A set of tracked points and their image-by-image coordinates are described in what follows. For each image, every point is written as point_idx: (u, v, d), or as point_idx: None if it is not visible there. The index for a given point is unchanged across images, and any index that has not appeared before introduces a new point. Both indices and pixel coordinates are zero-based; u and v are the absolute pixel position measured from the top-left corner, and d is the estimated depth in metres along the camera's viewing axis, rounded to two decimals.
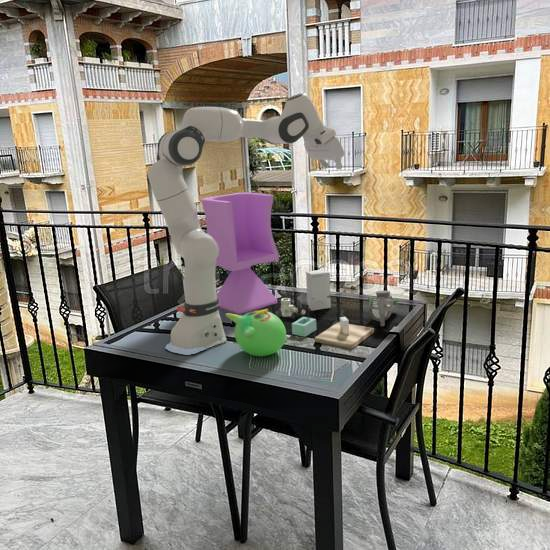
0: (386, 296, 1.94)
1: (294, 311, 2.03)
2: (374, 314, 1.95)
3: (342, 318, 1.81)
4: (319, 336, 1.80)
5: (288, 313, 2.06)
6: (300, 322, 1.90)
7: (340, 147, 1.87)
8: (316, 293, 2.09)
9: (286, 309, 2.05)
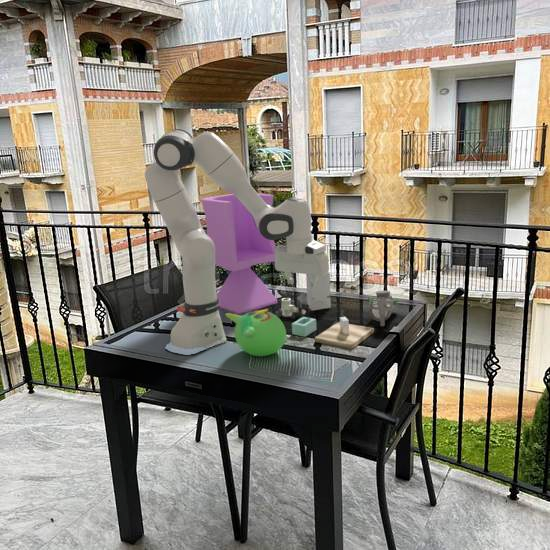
0: (386, 296, 1.94)
1: (294, 311, 2.03)
2: (374, 314, 1.95)
3: (342, 318, 1.81)
4: (319, 336, 1.80)
5: (289, 313, 2.06)
6: (300, 322, 1.90)
7: (327, 264, 1.78)
8: (316, 293, 2.09)
9: (286, 309, 2.05)
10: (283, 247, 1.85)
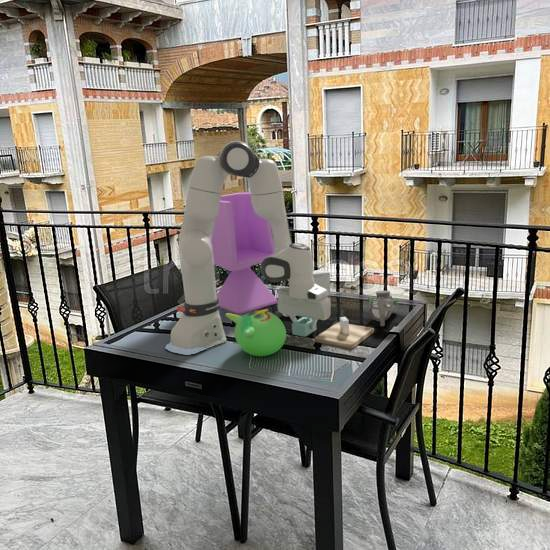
0: (386, 296, 1.94)
1: None
2: (374, 314, 1.95)
3: (342, 318, 1.81)
4: (319, 336, 1.80)
5: None
6: (300, 322, 1.90)
7: (329, 308, 1.82)
8: None
9: None
10: (286, 290, 1.89)
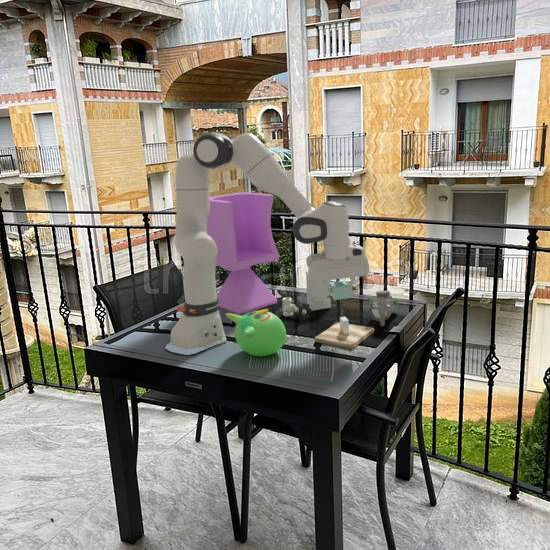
0: (386, 296, 1.94)
1: (295, 310, 2.03)
2: (374, 314, 1.95)
3: (342, 318, 1.81)
4: (319, 336, 1.80)
5: (290, 312, 2.07)
6: None
7: None
8: (316, 293, 2.09)
9: (287, 308, 2.06)
10: (317, 256, 1.75)
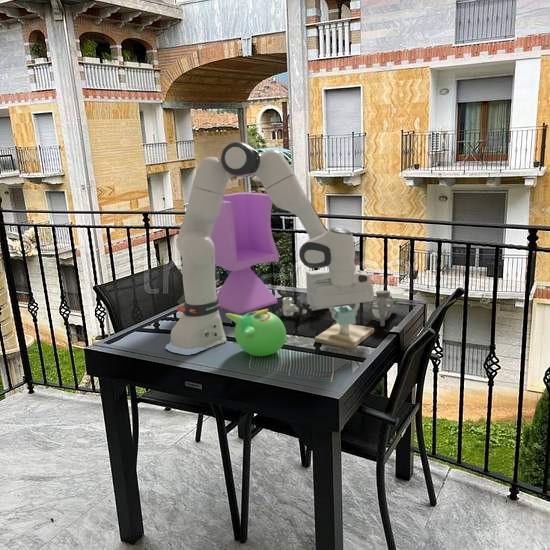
0: (386, 296, 1.94)
1: (295, 310, 2.03)
2: (374, 314, 1.95)
3: None
4: (319, 336, 1.80)
5: (290, 312, 2.07)
6: None
7: None
8: None
9: (288, 308, 2.06)
10: (323, 282, 1.76)
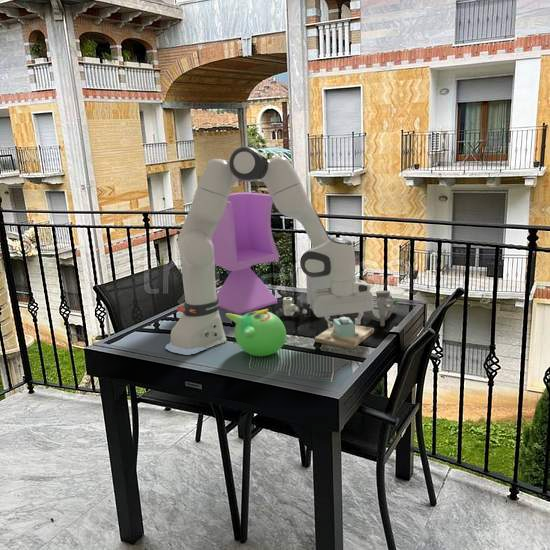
0: (386, 296, 1.94)
1: (296, 310, 2.03)
2: (374, 314, 1.95)
3: (342, 318, 1.81)
4: (319, 336, 1.80)
5: (290, 312, 2.07)
6: None
7: None
8: None
9: (288, 308, 2.06)
10: (323, 291, 1.77)
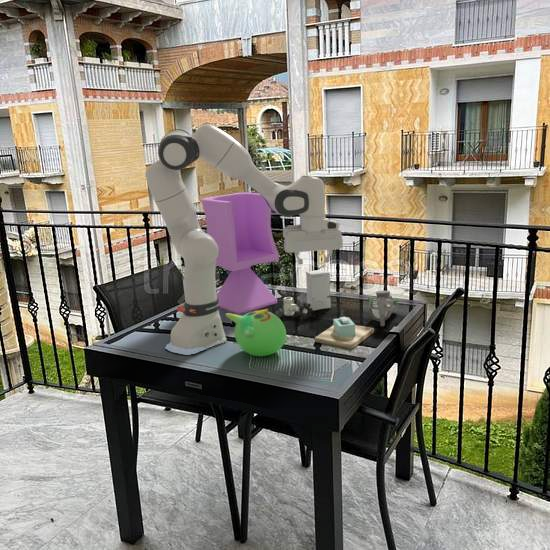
0: (386, 296, 1.94)
1: (296, 310, 2.04)
2: (374, 314, 1.95)
3: (342, 318, 1.81)
4: (319, 336, 1.80)
5: (291, 312, 2.07)
6: None
7: None
8: (316, 293, 2.09)
9: (288, 308, 2.06)
10: (294, 227, 1.82)
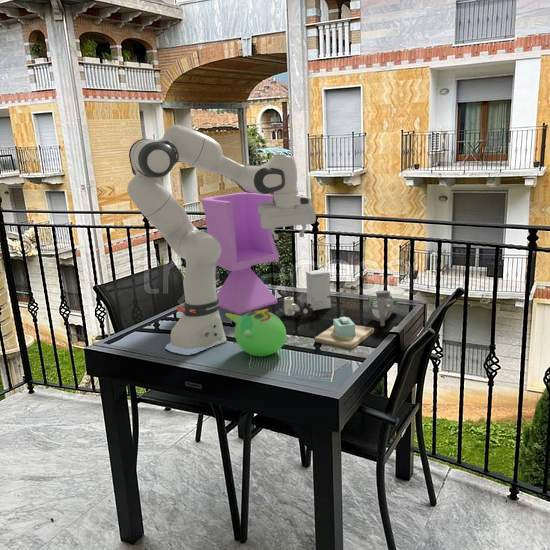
0: (386, 296, 1.94)
1: (296, 310, 2.04)
2: (374, 314, 1.95)
3: (342, 318, 1.81)
4: (319, 336, 1.80)
5: (291, 311, 2.07)
6: None
7: None
8: (316, 293, 2.09)
9: (289, 308, 2.06)
10: (268, 204, 1.91)
